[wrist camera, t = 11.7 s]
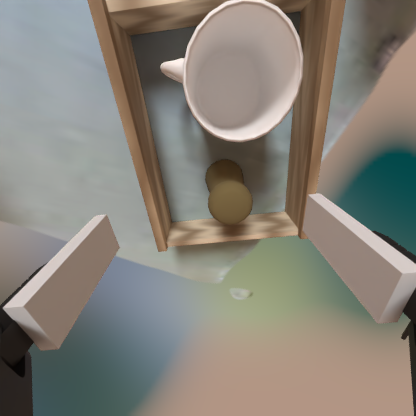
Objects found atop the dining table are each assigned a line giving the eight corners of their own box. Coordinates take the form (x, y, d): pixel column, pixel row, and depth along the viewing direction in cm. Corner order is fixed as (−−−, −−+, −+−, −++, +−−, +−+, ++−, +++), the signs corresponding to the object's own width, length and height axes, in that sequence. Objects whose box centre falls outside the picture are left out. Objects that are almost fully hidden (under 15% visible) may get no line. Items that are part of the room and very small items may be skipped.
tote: (167, 226, 35) (158, 251, 29) (119, 28, 23) (86, -4, 16) (290, 214, 34) (308, 238, 28) (310, 0, 22) (352, -45, 15)
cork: (250, 178, 31) (270, 210, 21) (222, 202, 33) (229, 241, 23) (225, 150, 29) (235, 171, 19) (197, 177, 31) (192, 209, 21)
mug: (261, 128, 28) (294, 139, 17) (178, 133, 28) (160, 147, 18) (266, 44, 23) (314, -9, 13) (168, 51, 24) (137, 5, 13)
